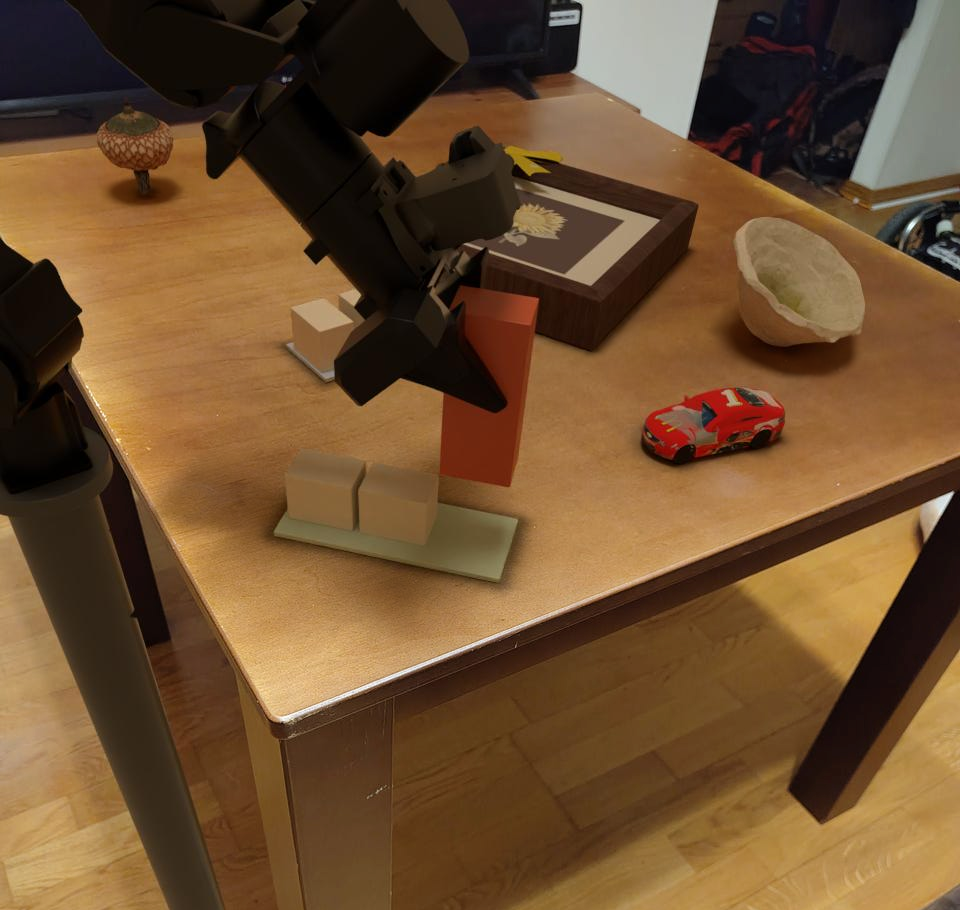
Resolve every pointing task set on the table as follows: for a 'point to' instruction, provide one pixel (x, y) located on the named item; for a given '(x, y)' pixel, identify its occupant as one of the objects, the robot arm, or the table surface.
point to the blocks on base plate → (323, 331)
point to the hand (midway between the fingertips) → (507, 393)
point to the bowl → (795, 285)
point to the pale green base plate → (390, 516)
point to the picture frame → (583, 245)
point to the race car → (714, 424)
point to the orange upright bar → (507, 355)
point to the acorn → (136, 143)
